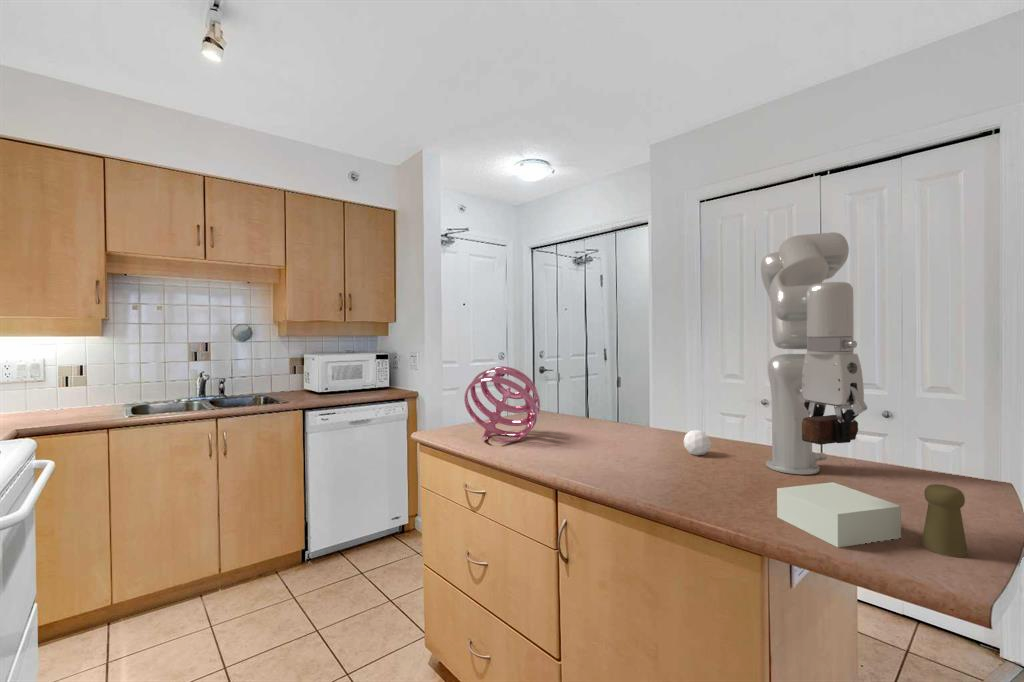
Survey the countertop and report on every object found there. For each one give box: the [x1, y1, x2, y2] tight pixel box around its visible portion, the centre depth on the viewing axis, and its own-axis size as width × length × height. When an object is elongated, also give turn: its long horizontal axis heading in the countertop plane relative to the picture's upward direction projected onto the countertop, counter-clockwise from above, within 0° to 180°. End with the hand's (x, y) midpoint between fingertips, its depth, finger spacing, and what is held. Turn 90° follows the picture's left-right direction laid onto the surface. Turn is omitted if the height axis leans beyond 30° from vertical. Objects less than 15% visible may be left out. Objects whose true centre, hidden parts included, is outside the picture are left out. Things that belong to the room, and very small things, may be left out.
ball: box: [683, 429, 712, 456], centre depth 145 cm, size 8×8×8 cm
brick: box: [802, 414, 859, 446], centre depth 91 cm, size 11×4×5 cm, turn 111°
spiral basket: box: [464, 366, 541, 443], centre depth 170 cm, size 28×28×27 cm
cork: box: [920, 483, 969, 558], centre depth 81 cm, size 6×6×11 cm
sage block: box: [776, 481, 902, 548], centre depth 91 cm, size 14×14×6 cm
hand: (830, 438), depth 91 cm, fingers closed on brick, 4 cm apart
